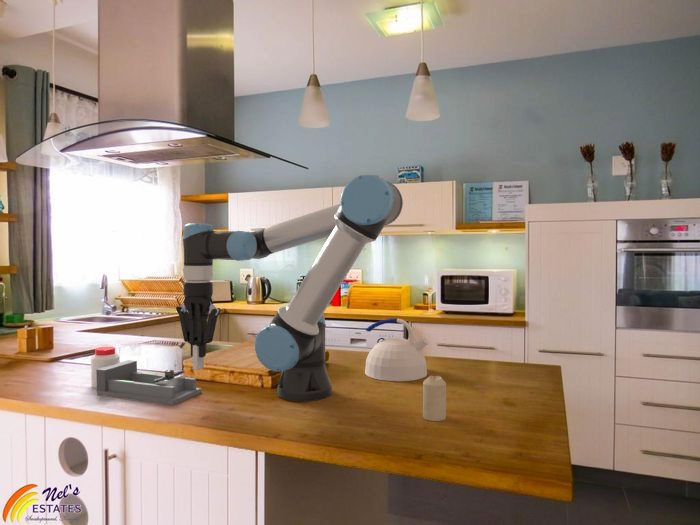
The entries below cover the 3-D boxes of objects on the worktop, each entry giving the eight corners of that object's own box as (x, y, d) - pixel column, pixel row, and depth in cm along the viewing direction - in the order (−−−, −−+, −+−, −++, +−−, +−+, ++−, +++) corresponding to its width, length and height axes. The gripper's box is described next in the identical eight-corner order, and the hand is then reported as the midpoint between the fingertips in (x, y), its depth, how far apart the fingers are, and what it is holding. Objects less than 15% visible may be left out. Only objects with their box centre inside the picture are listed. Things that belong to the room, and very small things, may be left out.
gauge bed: (201, 392, 145) (201, 367, 145) (172, 405, 134) (172, 377, 134) (129, 383, 154) (128, 360, 154) (96, 394, 143) (96, 369, 143)
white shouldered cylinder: (430, 422, 120) (431, 380, 120) (418, 415, 125) (418, 375, 125) (450, 419, 123) (450, 378, 122) (437, 412, 128) (437, 372, 127)
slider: (189, 386, 146) (188, 366, 146) (160, 398, 136) (160, 376, 135) (177, 385, 148) (177, 365, 148) (148, 396, 137) (148, 375, 137)
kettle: (421, 384, 154) (422, 324, 153) (356, 378, 160) (356, 321, 160) (433, 368, 173) (433, 315, 172) (374, 364, 180) (374, 312, 179)
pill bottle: (108, 389, 149) (108, 351, 149) (85, 387, 151) (84, 350, 150) (125, 382, 157) (125, 346, 156) (103, 380, 158) (102, 345, 158)
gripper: (227, 281, 138) (226, 368, 139) (187, 279, 143) (187, 363, 144) (210, 283, 131) (210, 374, 132) (168, 281, 136) (169, 369, 137)
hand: (198, 368), depth 138 cm, fingers closed
